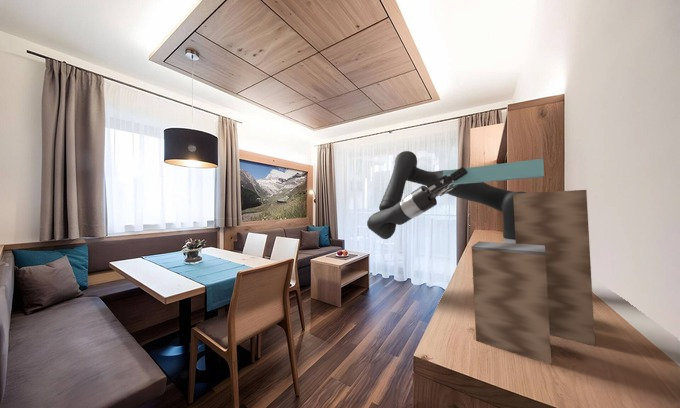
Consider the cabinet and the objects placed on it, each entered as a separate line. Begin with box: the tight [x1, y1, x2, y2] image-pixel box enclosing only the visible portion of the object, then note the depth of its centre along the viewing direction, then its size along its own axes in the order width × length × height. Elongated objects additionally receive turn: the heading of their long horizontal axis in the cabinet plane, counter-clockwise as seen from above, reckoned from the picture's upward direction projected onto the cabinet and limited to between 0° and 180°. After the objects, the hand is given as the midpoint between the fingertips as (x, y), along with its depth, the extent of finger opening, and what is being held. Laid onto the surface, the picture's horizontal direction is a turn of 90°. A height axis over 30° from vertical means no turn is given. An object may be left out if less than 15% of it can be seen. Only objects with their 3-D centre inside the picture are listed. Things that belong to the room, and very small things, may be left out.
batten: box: [443, 158, 545, 185], centre depth 60 cm, size 22×4×4 cm, turn 48°
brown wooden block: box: [471, 241, 552, 365], centre depth 48 cm, size 12×8×21 cm, turn 48°
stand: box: [513, 189, 596, 347], centre depth 52 cm, size 12×7×32 cm, turn 48°
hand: (467, 170), depth 64 cm, fingers closed on batten, 4 cm apart
